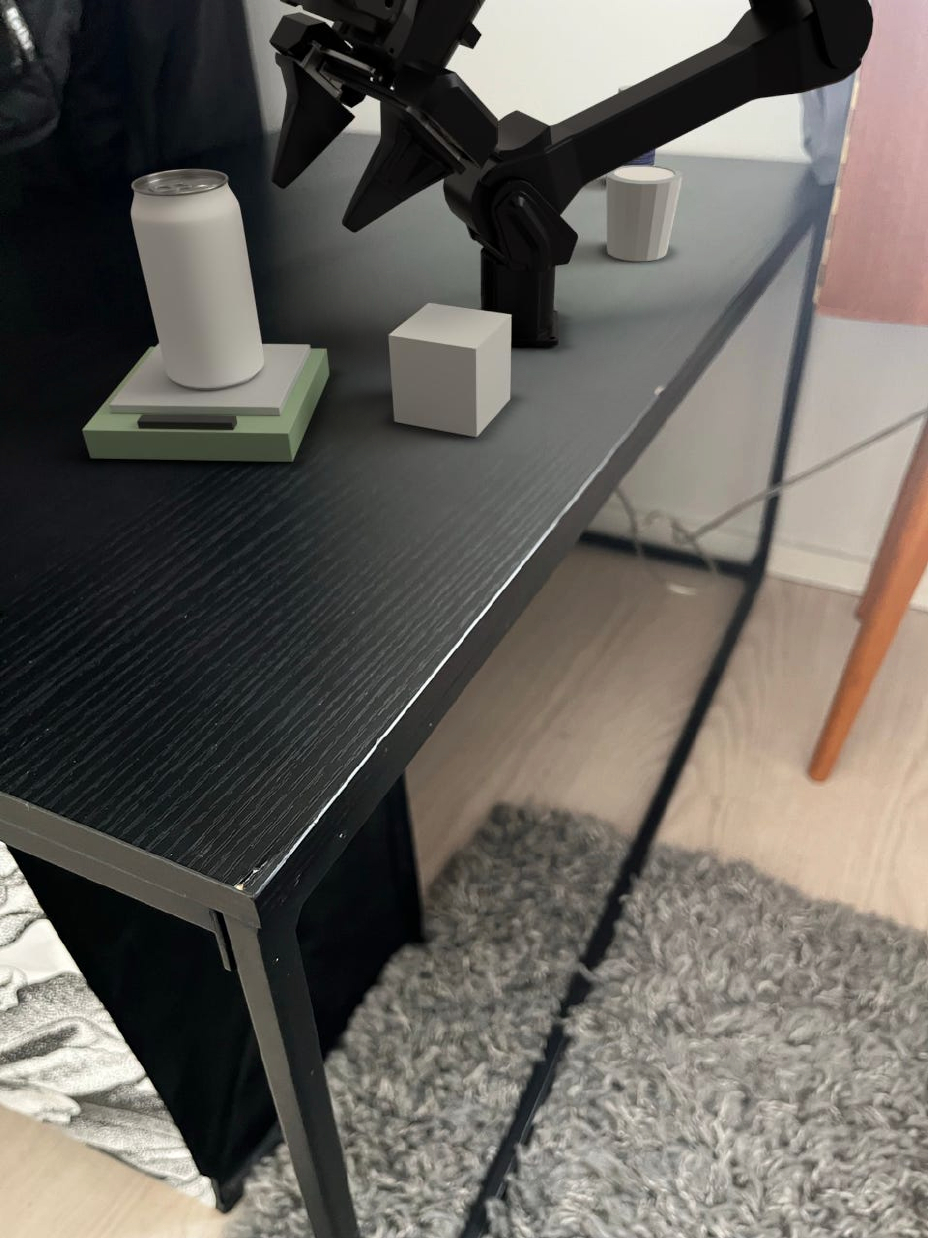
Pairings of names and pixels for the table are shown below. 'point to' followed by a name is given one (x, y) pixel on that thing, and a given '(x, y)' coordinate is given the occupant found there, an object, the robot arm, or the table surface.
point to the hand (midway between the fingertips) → (310, 205)
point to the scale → (211, 412)
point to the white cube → (451, 368)
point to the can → (198, 277)
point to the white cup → (641, 211)
